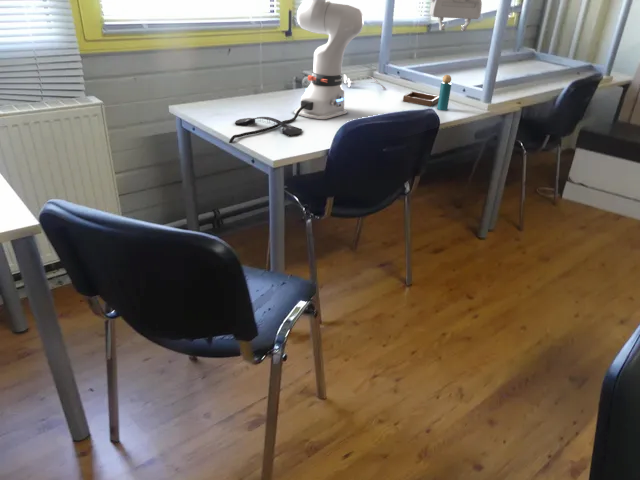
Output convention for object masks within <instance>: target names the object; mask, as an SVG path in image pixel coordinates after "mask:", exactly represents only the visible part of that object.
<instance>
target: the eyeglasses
mask: <svg viewBox="0 0 640 480" xmlns="http://www.w3.org/2000/svg"><path fill="white" fill-rule="evenodd" d="M361 76H363V77H368V78H371V79H372V80H374V81H365V83H367V84H368V83H371V84H378V85H379V86H381V87H382V90H386V89H387V88H386V87H385V86H384V85H383V84H381V83H380V82H379V81H378V80H377V79H376V78H374V77H372V76H370V75H367V74H361ZM343 83H344V84H347V87H348V88H351V86H352V84H353V83H355V81H352V80H351V79H350V78H349V77H348V75H347V74H343Z"/></svg>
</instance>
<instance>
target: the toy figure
mask: <svg viewBox="0 0 640 480" xmlns="http://www.w3.org/2000/svg"><path fill="white" fill-rule="evenodd" d="M451 81H452V76H451V75H450V74H445V75H443V77H442V82H441V83H440V88H439V95H438V96H439V100H438V103H437V107H436V108H437V110H439V111H442V112H443V111H448V106H449V102H450V96H451V90H452V82H451Z"/></svg>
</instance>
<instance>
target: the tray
mask: <svg viewBox="0 0 640 480" xmlns="http://www.w3.org/2000/svg"><path fill="white" fill-rule="evenodd" d="M438 100H439V95H435V94H428V93H424V92H417V91H410V92H408V93H406V94H404V95H403V97H402V102H404V103H410V104H416V105H421V106H426V107H433V106H435V105H437V104H438Z"/></svg>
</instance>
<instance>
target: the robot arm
mask: <svg viewBox="0 0 640 480" xmlns="http://www.w3.org/2000/svg"><path fill="white" fill-rule="evenodd" d="M482 5H483V3H482V0H431V4H430V9H429V15H430V17H432V18H437V22H438V25H439V27H438V30H439V31H445V27H446V25H444V24H443V21H444V18H445V19H463V20H464V24H463V25H460V27H461V28H460V31H461V32H466V31H467V29H468V26H469V25H470V23H471V20H479V18H480V17H481V14H482V7H483V6H482ZM296 20H297V24H298V26H299V27H300V29H302V30H305V31H307V32H309V33H311V34H312V33H313V34H320V35H326V36H328V40H327V42H326V43H324V44H321V45H319V46H318V47H316V49H315V50H314V52H313V68H312V70H313V71H312V72H311V74H309V75H307V81H309V82H310V83H309V85H308V87H307V88H305V91H304V93H303V94H302V96H301V98H300V106H298V107H297V108H296V109H294V111H293V113H294V114H295V115H294V116H293V117H292V118H290V119H286V120H281V122H283V123H285V124H289V123H292V122H294V121H296V120H297V118H298V116H301V117H305V118H311V119H317V120H328V119H331V118H336V117H338V116H343V115H345V114H347V113H348V110H347V109H346V108H345V101H346V97H345V90H344V88H343V86H342V84H343V80H344V76H343V74H342V71H343V60H344V55H345V52H346V48H347V47H348V45H349V44H350V43H351V42H352V40H353V39H354V38H356V37H358V36H359V34H361V32H362V31H363V28H364V23H365V21H364V15H363V13H362V11H361V9H360V8H358V7H355V6H352V5H350V4H349V5H348V4H343V3H334V2H331V1H330V0H304V1H303V2H302V3H301V4H299V7H298V8H297V11H296ZM277 125H278V123H275V124H274V125H272V126H267V127H264V128H260V129H257V130H251V131H246V132H242V133H239V134H233V135H232V136H231V137H230V139H229V141H228V143H229V144H232V143H233V142H234V140H235V139H238V138H242V137H246V136H251V135H256V134H260V133H264V132H268V131H271V130H275V129H277V128H279V127H281V125H278V126H277Z"/></svg>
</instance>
